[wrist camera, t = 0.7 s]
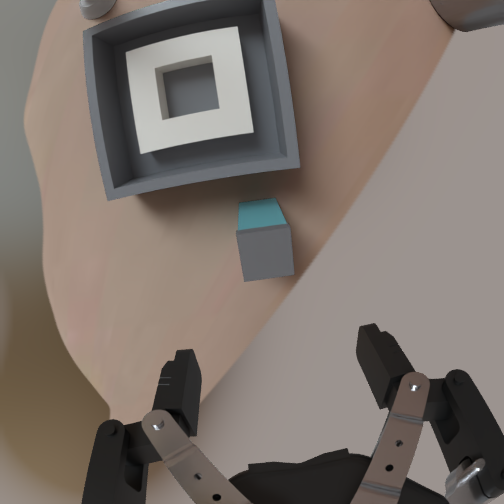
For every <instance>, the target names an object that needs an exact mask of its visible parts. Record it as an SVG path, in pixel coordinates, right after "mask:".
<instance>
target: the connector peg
mask: <svg viewBox="0 0 504 504" xmlns="http://www.w3.org/2000/svg"><path fill="white" fill-rule="evenodd" d="M236 236H237V242H238V248H239V254H240V260H241V266H242V271H243V277H244V282H247V281H254V280H261V279H269V278H276V277H283V276H290V275H294V263H293V251H292V240H291V229H290V226H289V223H286V220H285V218H284V216H283V214H282V212H281V209H280V207H279V205H278V203H277V200H276V198H270V199H263V200H255V201H248V202H241V203H239V216H238V230H236Z"/></svg>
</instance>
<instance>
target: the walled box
mask: <svg viewBox="0 0 504 504" xmlns="http://www.w3.org/2000/svg"><path fill="white" fill-rule="evenodd" d="M83 47H84V63H85V75H86V85H87V94H88V102H89V110H90V116H91V123H92V129H93V135H94V141H95V146H96V151H97V156H98V161H99V166H100V170H101V175H102V179H103V184H104V188H105V192H106V196H107V200H108V201H110V200H114V199H119V198H123V197H127V196H131V195H136V194H140V193H145V192H150V191H154V190H159V189H164V188H169V187H174V186H179V185H185V184H190V183H196V182H201V181H207V180H213V179H219V178H225V177H232V176H238V175H245V174H252V173H260V172H267V171H275V170H284V169H292V168H300V160H299V151H298V142H297V134H296V126H295V118H294V110H293V103H292V96H291V89H290V82H289V76H288V69H287V63H286V57H285V51H284V46H283V40H282V34H281V29H280V24H279V19H278V13H277V8H276V4H275V0H168V1H165V2H161V3H157V4H154V5H150V6H147V7H144V8H141V9H138V10H135V11H132V12H129V13H126V14H123V15H121V16H118V17H115V18H113V19H110V20H108V21H105V22H103V23H100V24H98V25H96V26H93V27H91V28H89V29H87V30H85V31H83Z"/></svg>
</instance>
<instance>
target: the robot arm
mask: <svg viewBox="0 0 504 504" xmlns="http://www.w3.org/2000/svg"><path fill="white" fill-rule="evenodd" d="M430 1H431V3H432V5H433V6H434V8H435V9H436V11H437V12H438V14H439V15H440V16H441V17H442V18H443V19H444V20H445V21H446V22H447V23H448V24H449V25H451V26H452V27H454V28H455V29H457V30H460V31H462V32H468V31H472V30H477V29H482V28H487V27H492V26H498V25H503V24H504V0H430ZM356 355H357V359H358V362H359V364H360V366H361V368H362V370H363V372H364V374H365V377H366V379H367V381H368V384H369V386H370V388H371V390H372V393H373V395H374V397H375V399H376V402H377V404H378V406H379V409H383V408H386V407H387V408H388V410H389V414H388V416H387V419H386V421H385V424H384V427H383V429H382V432H381V434H380V437H379V439H378V441H377V444H376V446H375V448H374V450H373V452H372V454H371V457H369V456H365V455H361V454H352V453H351V454H349V452H348V449H347V448H345V449H341V450H337V451H333V452H328V453H324V454H322V455H319V456H317V457H314V458H312V459H310V460H307V461H305V462H302V463H297V464H296V463H283V462H266V463H256V464H248V468H249V470H246V471H243V472H241V473H238V474H237V475H235V476H233V477H232V478H230V479H229V480H227V479H226V478H225V477H224V476H223V475H222V473H221V472H220V471H219V470H218V469H217V468H216V467H215V466H214V465H213V464H212V463H211V462H210V461H209V459H208V458H207V457H206V456H205V455H204V454H203V453H202V451H201V450H200V449H199V448H198V447H197V446H196V445H194V444H193V443H192V442H191V440H190V439H189V436H197V425H198V414H199V403H200V393H201V383H202V378H201V371H200V368H199V365H198V362H197V359H196V356H195V353H194V351H193V349H186V350H177V351H176V355H175V360H174V361H167V363H166V364H165V365H164V367H163V368H162V371H161V375H160V379H159V383H158V387H157V391H156V395H155V399H154V404H153V408H152V411H151V412H149V413H147V414H146V415H145V416H144V418H143V420H142V421H140V422H136V423H132V424H127V425H123V424H122V423H121V422H120V421H118V420H114V419H112V420H107V421H105V422H103V423H102V424H101V425H100V426H99V428H98V430H97V434H96V438H95V442H94V446H93V450H92V454H91V459H90V463H89V467H88V472H87V477H86V482H85V487H84V492H83V498H82V504H145V500H146V487H147V475H148V466H149V463H152V462H156V461H162V460H163V461H164V463H165V465H166V466H167V468H168V469H169V470H170V472H171V473H172V475H173V476H174V477H175V479H176V480H177V481H178V483H179V484H180V485H181V487H182V488H183V489H184V490H185V492H186V493H187V494H188V495H189V496H190V498H191V499H192V500H193V501H194V503H196V504H488V503H489V502H491V501H492V500H494V499H495V498H497V497H498V496H500V495H501V494H503V493H504V435H503V433H502V431H501V429H500V427H499V425H498V424H497V422H496V420H495V418H494V416H493V414H492V413H491V411H490V409H489V407H488V406H487V404H486V402H485V400H484V399H483V397H482V395H481V394H480V392H479V390H478V389H477V387H476V386H475V384H474V382H473V381H472V379H471V378H470V376H469V375H468V374H467V373H466V372H465V371H462V370H458V369H456V370H452V371H450V372H449V373H448V374H447V375H446V377H445V378H441V379H428V378H427V377H426V376H425V375H424V374H422V373H419V372H416V371H415V370H414V368H413V367H412V365H411V363H410V362H409V360H408V359H407V357H406V356H405V354H404V352H403V351H402V349H401V348H400V346H399V345H398V343H397V341H396V340H395V338H394V337H393V336H392V335H390V334H389V333H388V332H386V331H384V332H380V330H379V328H378V327H377V325H376V324H375V323H373V324H368V325H364V326H360V327H359V332H358V340H357V347H356ZM423 421H429V422H430V424H431V426H432V428H433V431H434V433H435V435H436V438H437V440H438V443H439V445H440V447H441V450H442V453H443V455H444V458H445V460H446V463H447V466H448V468H449V471H450V474H449V475H448V477H447V479H446V482H445V486H446V494H445V497H444V496H442V495H440V494H439V493H436V492H434V491H432V490H430V489H428V488H426V487H424V486H422V485H420V484H418V483H416V482H415V481H413V480H411V479H409V478H407V477H406V476H407V474H408V471H409V468H410V465H411V463H412V460H413V457H414V454H415V451H416V448H417V444H418V441H419V438H420V434H421V430H422V427H423Z"/></svg>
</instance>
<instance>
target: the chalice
mask: <svg viewBox="0 0 504 504" xmlns="http://www.w3.org/2000/svg"><path fill="white" fill-rule="evenodd" d="M115 1H116V0H80V3H79V6H80V10H81V13H82V15H83V17H84V18H86V19H96V18H99V17H101V16H102V15H104V14H106V13H107V12H108V11H109V10H110V9H111V8H112V6H113V5H114V3H115Z"/></svg>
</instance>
